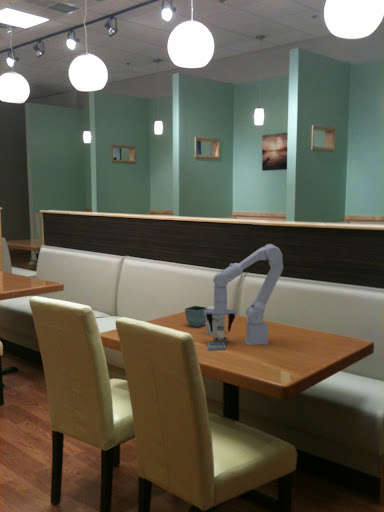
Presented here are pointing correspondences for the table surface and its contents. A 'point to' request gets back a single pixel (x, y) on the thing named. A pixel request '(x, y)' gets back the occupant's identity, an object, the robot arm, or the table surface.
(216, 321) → the supplement box
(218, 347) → the tray
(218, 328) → the fuse
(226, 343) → the socket
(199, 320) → the flower pot
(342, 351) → the table surface
